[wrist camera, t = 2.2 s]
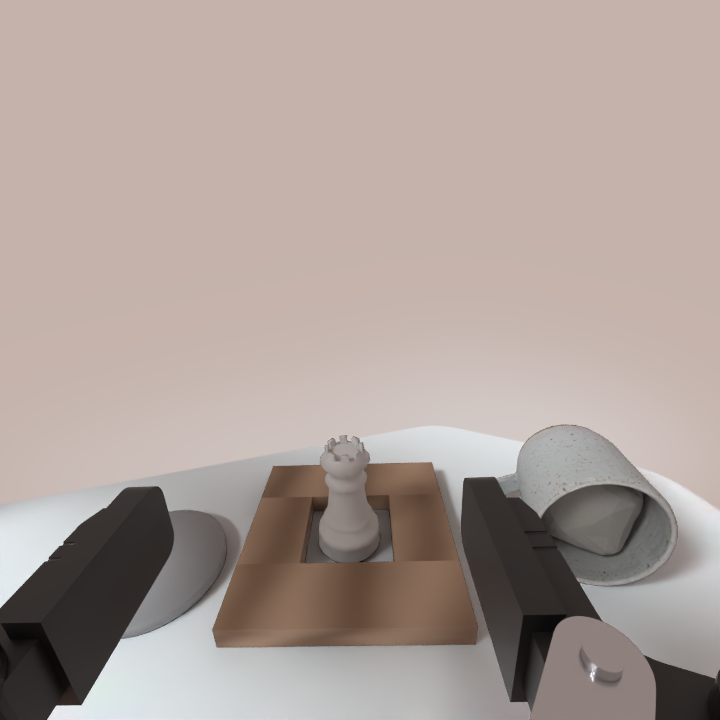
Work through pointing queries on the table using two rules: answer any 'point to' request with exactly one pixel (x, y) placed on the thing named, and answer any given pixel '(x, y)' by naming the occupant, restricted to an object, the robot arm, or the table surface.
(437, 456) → the table surface
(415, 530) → the walnut frame
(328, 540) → the rook chess piece
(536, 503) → the ceramic mug
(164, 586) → the slate-grey pad
